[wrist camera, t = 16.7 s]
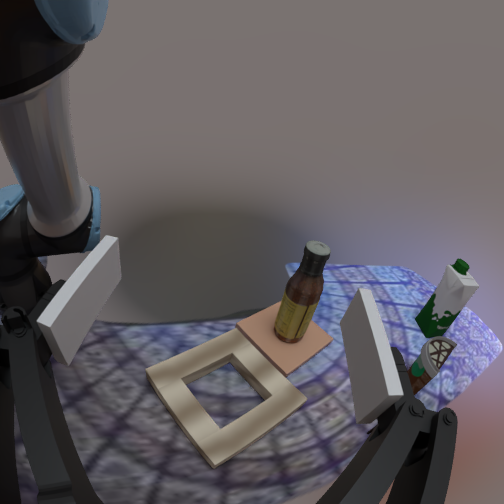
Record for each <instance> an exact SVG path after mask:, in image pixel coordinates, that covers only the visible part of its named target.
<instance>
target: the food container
mask: <svg viewBox="0 0 504 504" xmlns="http://www.w3.org/2000/svg"><path fill="white" fill-rule="evenodd" d="M456 346H457V344H456V343H455V342H453V341H452V340H450V339H448V338H446V337H442V336H437V337H434V338H432V339H430V340H429V341H428V342H426V343H425V344H424V345H423V347H422V349H421V354H420V355H419V357H418V358H417V359H416V361H415V362H414V363H413V365H412V366H411V367H410V368H409V370H408V371H407V373H408V376H409V379H410V383H411V386H412V390H413V393H414V395H415V394H416V393H417V392H418V391H420V390H421V389H422V388H423V387H424V386H425V385H426V384H427V383H428V382H429V381H430V380H431V379H433V378H434V377H435V376H436V375H437V374H438V372H439V371H440V370H439V369H440V368H441V367H442V365H443V364H444V362H445V361H446V360H447V358H448V356H449V355H450V353H451V352H452V350H453V349H454V348H455V347H456Z"/></svg>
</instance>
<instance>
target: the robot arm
mask: <svg viewBox="0 0 504 504" xmlns="http://www.w3.org/2000/svg"><path fill="white" fill-rule="evenodd" d="M107 8H108V0H0V141H1V143H2V146H3V148H4V151H5V153H6V156H7V158H8V160H9V162H10V165H11V167H12V169H13V171H14V173H15V175H16V178H17V180H18V182H19V184H20V185H18V184H14V185H10V186H7V187H3V188H1V189H0V313H1V315H2V318H1V321H2V323H3V325H0V504H21V497H20V491H19V484H18V477H17V469H16V458H15V443H14V401H15V406H16V412H17V417H18V422H19V426H20V430H21V435H22V439H23V442H24V446H25V450H26V453H27V456H28V460H29V463H30V466H31V469H32V472H33V475H34V478H35V480H36V483H37V486H38V489H39V493H38V495H37V500H38V504H103V502H102V501H101V500H100V499H99V497H98V496H97V495H96V493H95V491H94V489H93V487H92V485H91V483H90V481H89V479H88V477H87V475H86V472H85V470H84V468H83V466H82V463H81V461H80V458H79V456H78V454H77V451H76V448H75V446H74V443H73V440H72V438H71V435H70V432H69V429H68V426H67V423H66V420H65V417H64V414H63V410H62V407H61V403H60V400H59V396H58V392H57V388H56V384H55V380H54V375H53V371H52V366H51V362H50V360H49V358H50V356H51V355H52V354H53V356H54V358H55V360H56V361H58V362H60V363H62V364H64V365H67V366H69V365H70V363H71V362H72V360H73V358H74V356H75V354H76V352H77V351H78V349H79V347H80V345H81V343H82V342H83V340H84V338H85V336H86V335H87V333H88V331H89V329H90V328H91V326H92V324H93V323H94V321H95V319H96V318H97V316H98V314H99V312H100V311H101V309H102V308H103V306H104V305H105V303H106V301H107V300H108V298H109V296H110V295H111V293H112V292H113V290H114V289H115V287H116V286H117V284H118V283H119V281H120V279H121V278H122V277H121V267H120V256H119V243H118V238H116V237H111V236H105V238H104V239H103V240H102V241H101V242H100V218H101V217H100V216H101V210H100V208H101V207H100V206H101V205H100V191H99V188H98V187H93V186H88V184H87V182H86V181H85V180H84V179H83V178H82V177H81V176H79V175H78V171H77V164H76V158H75V151H74V144H73V135H72V125H71V114H70V102H69V101H70V100H69V68H71V67H72V66H73V65H74V64H75V63H76V62H77V60H78V59H79V58H80V57H81V55H82V53H83V51H84V48H85V43H86V42H88V41H90V40H93V39H95V38H96V37H97V36H98V35H99V34H100V32H101V30H102V28H103V25H104V20H105V17H106V12H107ZM86 251H92V252H91V253H90V254H89V255H88V256H87V257H86V259H85V260H84V261H83V262H82V263H81V264H80V266H79V267H78V268H77V269H76V270H75V272H74V273H73V274H72V275H71V276H70V278H69V279H68V280H67V281H64V280H59V281H57V282H56V283H55V284H53V285H52V282H51V278H50V276H49V274H48V272H47V271H46V269H45V268H44V267H43V265H42V264H41V262H40V261H39V259H38V258H37V257H41V256H50V255H60V254H69V253H85V252H86ZM340 326H341V331H342V336H343V342H344V347H345V352H346V358H347V364H348V370H349V376H350V382H351V388H352V395H353V402H354V409H355V416H356V424H370V423H372V422H373V421H374V420H375V419H377V420H378V424H377V425H376V426H375V427H374V428H372V429H371V430H370V431H368V432H367V434H370V433H371V434H370V435H369V437H368V438H367V440H366V441H365V443H364V444H363V445H362V447H361V448H360V450H359V451H358V453H357V454H356V455H355V457H354V458H353V459H352V461H351V462H350V463H349V465H348V466H347V467H346V469H345V470H344V471H343V472H342V474H341V475H340V476H339V477H338V479H337V480H336V481H335V482H334V483H333V485H332V486H331V487H330V488H329V490H327V492H326V493H325V494H324V495H323V496H322V497H321V499H319V501H318V502H317V503H316V504H379V502H380V501H381V499H382V498H383V496H384V495H385V493H386V492H387V490H388V488H389V487H390V485H391V483H392V482H393V480H394V479H395V480H394V483H393V486H392V489H391V492H390V494H389V497H388V500H387V502H386V504H444V501H445V497H446V493H447V489H448V485H449V480H450V475H451V469H452V464H453V457H454V450H455V443H456V434H457V416H456V414H455V413H454V411H453V410H451V409H450V408H443V409H441V410H440V411H439V412H434V411H431V410H427V409H426V408H425V406H424V404H423V403H422V402H421V401H420V400H418V399H416V398H415V397H414V393H413V390H412V386H411V383H410V379H409V376H408V373H407V369H406V366H405V363H404V360H403V357H402V355H401V353H400V352H399V350H398V349H397V347H390V345H389V342H388V339H387V335H386V332H385V329H384V326H383V323H382V320H381V317H380V315H379V312H378V309H377V306H376V303H375V300H374V298H373V295H372V292H371V290H367V289H362V288H359V289H358V291H357V292H356V294H355V296H354V298H353V300H352V302H351V304H350V305H349V307H348V309H347V311H346V313H345V314H344V316H343V318H342V320H341V321H340Z"/></svg>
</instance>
